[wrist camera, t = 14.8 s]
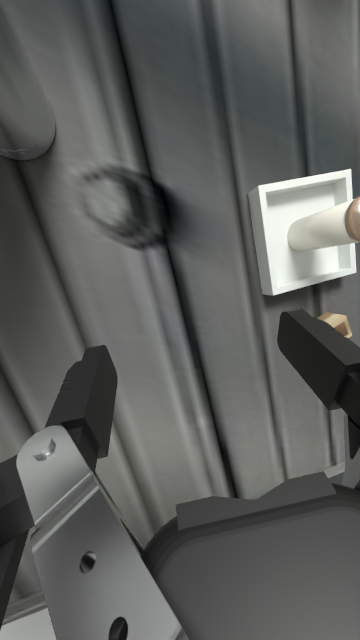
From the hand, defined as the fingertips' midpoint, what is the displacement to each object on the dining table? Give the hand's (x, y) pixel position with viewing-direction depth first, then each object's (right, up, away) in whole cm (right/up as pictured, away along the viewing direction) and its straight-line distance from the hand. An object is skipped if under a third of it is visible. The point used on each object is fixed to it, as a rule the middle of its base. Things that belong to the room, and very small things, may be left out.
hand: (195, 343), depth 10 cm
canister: (+19, +15, +26) cm, 36 cm away
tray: (+19, +15, +27) cm, 37 cm away
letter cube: (+26, 0, +32) cm, 41 cm away
